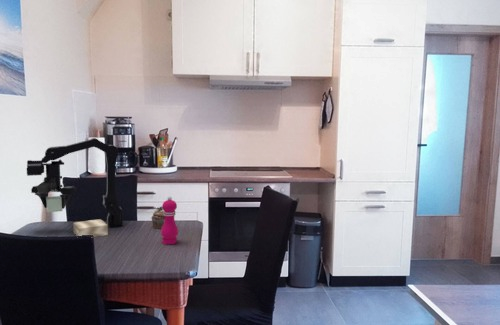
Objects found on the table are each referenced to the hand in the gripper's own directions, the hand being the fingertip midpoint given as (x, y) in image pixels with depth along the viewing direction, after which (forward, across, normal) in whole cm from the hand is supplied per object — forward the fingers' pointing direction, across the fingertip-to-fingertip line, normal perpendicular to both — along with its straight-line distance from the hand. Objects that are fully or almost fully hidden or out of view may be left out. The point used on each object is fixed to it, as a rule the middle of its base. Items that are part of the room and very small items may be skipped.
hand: (54, 208), depth 173 cm
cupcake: (+11, +45, +17) cm, 49 cm away
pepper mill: (+11, +57, -5) cm, 58 cm away
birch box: (+11, +18, 0) cm, 21 cm away
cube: (+1, 0, 0) cm, 1 cm away
